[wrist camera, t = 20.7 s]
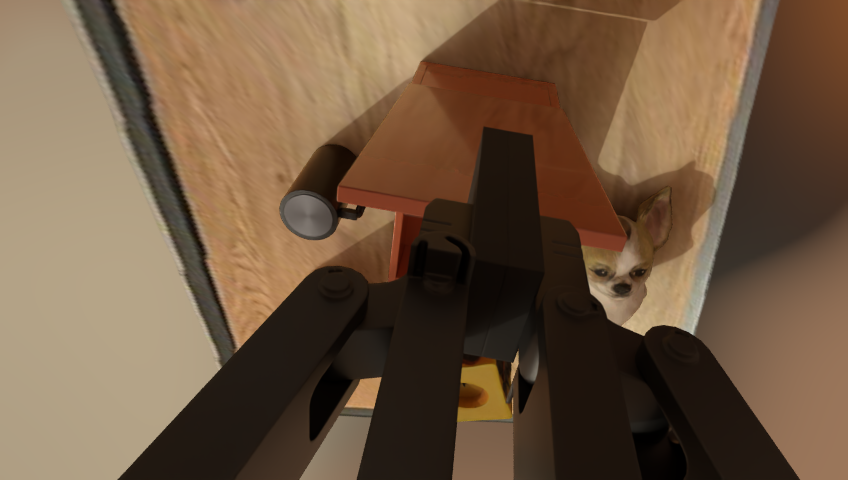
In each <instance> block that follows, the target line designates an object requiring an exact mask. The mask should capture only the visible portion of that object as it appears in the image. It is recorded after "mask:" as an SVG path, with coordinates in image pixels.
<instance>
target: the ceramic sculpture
mask: <svg viewBox="0 0 848 480" xmlns="http://www.w3.org/2000/svg"><path fill="white" fill-rule="evenodd" d="M670 197H671V187H670V186H667V187H665V188H664V189H662V190H661V191H659V192H658V193H656V194H655V195H653V196H651V197H650V198H649V199H647V200H646V201H644V202H643V203H641V205H640V206H639V207H638V211H637V221H636V222H633V221H632V220H631V219H629V218H628V217H625V216H619V215H617V217H618V219H619V221H620V223H621V225H622V227H623V229H624V231H625V233H626V235H627V241H626V244H625V246H624V249H623V251H622V252H617V251H611V250H606V249H600V248H594V247H589V246H583V245H581V248H582V251H583V259H584V262H585V267H586V272H587V277H588V283H589V288H590V293H591V294H592V295H593V296H595V297H596V298H597V299H598V300H599V301H600V302H601V303H602V305H603V307H604V309H605V311H606V314H607V318H608V319H609V320H611V321H612V322H614V323H615V324H617V325H619V326H621V325H622V324H624V323H625V322H626V321H627V320H628V319H630V318H631V317H632V316H633V314H634V313H635V312H636V311H637V310H638V308H639V307H640V305H641V303H642V301H643V299H644V297H645V296H646V294H647V289H646V286H645V281H646V280H647V278H648V277H649V276H650V273H651V270H652V263H653V258H654V254H655V252H656V251H657V250H658V249H659V248H661V247H662V246H663V245H664V244H665V242H666V241H667V240H668V237H669V232H670V230H671V228H672V216H671V215H672V206H671V198H670Z"/></svg>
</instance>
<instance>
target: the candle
mask: <svg viewBox="0 0 848 480" xmlns="http://www.w3.org/2000/svg"><path fill="white" fill-rule="evenodd" d="M511 366H512V365H511V362H507V361H501V360H496V359H491V358H486V357H480V356H475V355H470V354H465V353H463V362H462V373H461V384H460V395H459V406H458V417H457V422H461V421H475V420H493V419H510V418H511V417H512V401H511V403H510V404H508V403H506V399H507V395H508V392H509V390H510V387H511Z"/></svg>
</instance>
